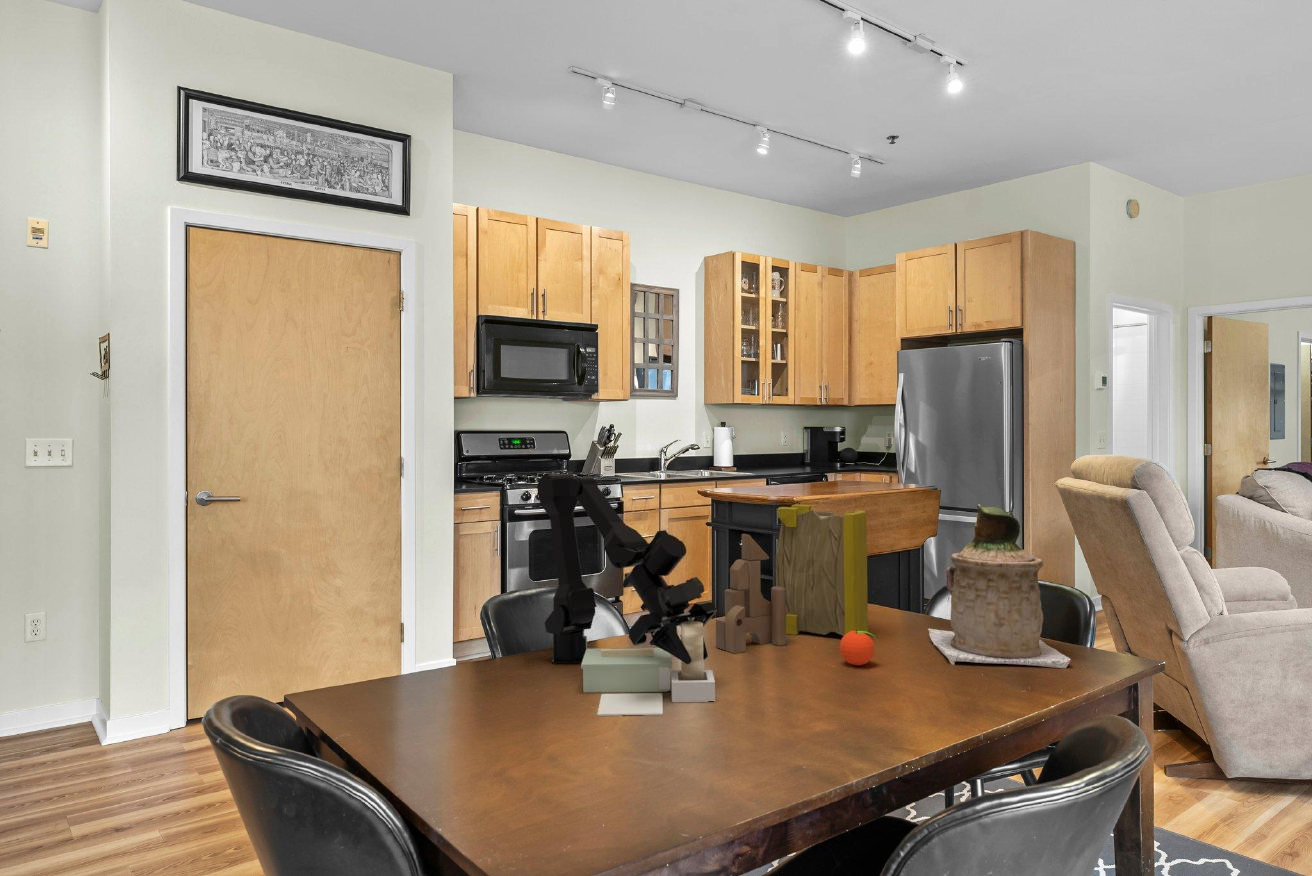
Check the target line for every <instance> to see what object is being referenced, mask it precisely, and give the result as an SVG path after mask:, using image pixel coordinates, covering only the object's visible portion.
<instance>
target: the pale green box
mask: <svg viewBox="0 0 1312 876" xmlns="http://www.w3.org/2000/svg"><path fill="white" fill-rule="evenodd" d="M580 664H581V666H580V669H581V670H582V681H583V682H582V690H583V693H631V692H632V693H640V692H641V693H652V692H653V693H654V692H655V693H663V692H665V693H666V692H667V691H670V693H671V702H672V703H709V702H708V701H714V702H713V703H715V702H716V680H715V676H714V673H713V672H714V671H713V669H712V670H711V669H704V680H682V679H681V669H680V670H679V669H677V670H676V669H674V670H671V669H672V668H673V667H672V664H673V663H672V655H671V654H670V653H668V652H666V651H664V650H663V649H661V648H659V647H617V648H613V647H612V648H603V647H602V648H587V649H586V652H585V655H584V658H583V661H582V663H580Z"/></svg>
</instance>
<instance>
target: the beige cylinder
mask: <svg viewBox="0 0 1312 876" xmlns="http://www.w3.org/2000/svg"><path fill="white" fill-rule="evenodd" d="M680 635H681V637H680V639H681V641H682V643H683V645H684V646H685V648H686V650H687V652H688V653H689V656H690V658H691V660H692V661H691V663H690V664H686V663H684V662H683V661H681V660H680V661H681V663H680V665H681V669H680V670H681V679H682V680H704V670H705V669H704V659H703V638H704V627H703V623H702V622H697V621H687V622H682V623H681V627H680Z"/></svg>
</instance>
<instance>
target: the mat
mask: <svg viewBox="0 0 1312 876" xmlns="http://www.w3.org/2000/svg"><path fill="white" fill-rule="evenodd" d="M663 710H664V709H663V692H655V693H654V692H653V693H652V692H646V693H601V696H600V700H599V705H598V709H597V713H596V715H597V717H602V716H603V717H614V716H615V717H623V716H622V715H627V717H628V715H644V716H663V715H664V711H663Z"/></svg>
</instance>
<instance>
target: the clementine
mask: <svg viewBox="0 0 1312 876" xmlns="http://www.w3.org/2000/svg"><path fill="white" fill-rule="evenodd" d="M870 635H871V636H873V637H875V635H874V634H872V633H870V632H869V631H868V632H865V631H858V630H856V631H850V632H848V633H847V634H845V635H844V636H842V638H841V640H840V643H839V651H840V655H841V657H842V658H843V659H844V660H845V661H846V662H847V663H848V664H849V665H852V666H853V665H854V666H863V665H866V664H868V663H870V661H871V660H872V659H873V657H874V654H875V643H874V641H873V639H872V638H871V636H870Z"/></svg>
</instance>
